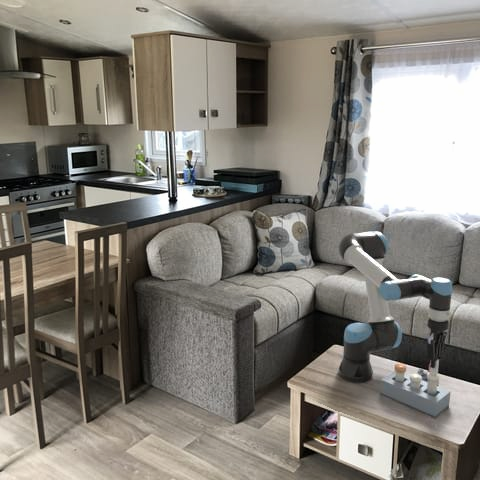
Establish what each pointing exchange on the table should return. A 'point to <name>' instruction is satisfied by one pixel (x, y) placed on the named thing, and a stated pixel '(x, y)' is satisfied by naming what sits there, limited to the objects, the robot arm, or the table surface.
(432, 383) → the cream plunger
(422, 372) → the brake caliper
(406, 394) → the blue peg holder block
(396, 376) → the peach ball knob
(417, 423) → the table surface
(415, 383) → the cream plunger
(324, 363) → the table surface
